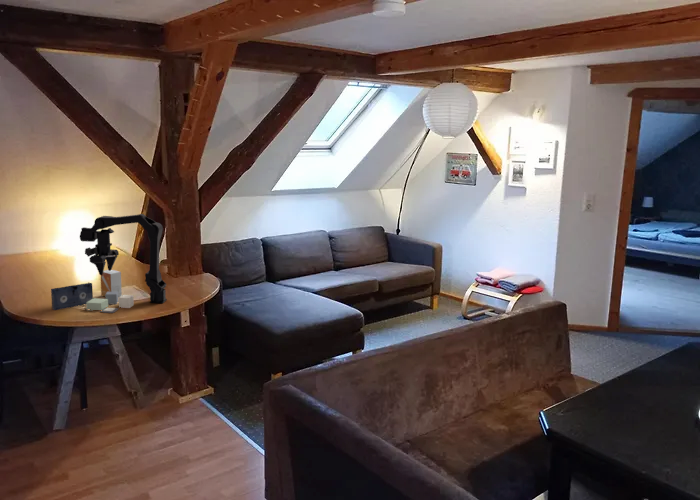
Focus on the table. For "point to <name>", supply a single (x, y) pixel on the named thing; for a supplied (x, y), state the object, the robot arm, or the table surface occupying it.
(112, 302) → the slate cube
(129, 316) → the table surface
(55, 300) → the vhs cassette tape
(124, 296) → the cream cube
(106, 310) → the swatch
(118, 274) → the small box
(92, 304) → the sage block
